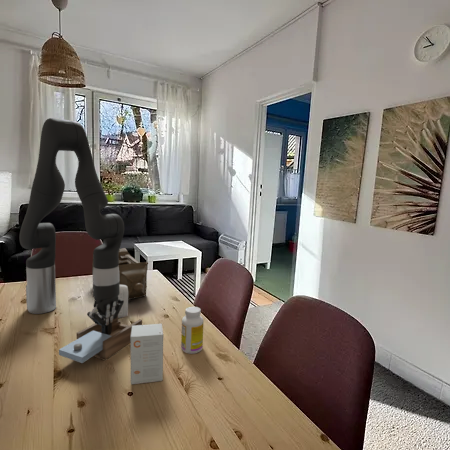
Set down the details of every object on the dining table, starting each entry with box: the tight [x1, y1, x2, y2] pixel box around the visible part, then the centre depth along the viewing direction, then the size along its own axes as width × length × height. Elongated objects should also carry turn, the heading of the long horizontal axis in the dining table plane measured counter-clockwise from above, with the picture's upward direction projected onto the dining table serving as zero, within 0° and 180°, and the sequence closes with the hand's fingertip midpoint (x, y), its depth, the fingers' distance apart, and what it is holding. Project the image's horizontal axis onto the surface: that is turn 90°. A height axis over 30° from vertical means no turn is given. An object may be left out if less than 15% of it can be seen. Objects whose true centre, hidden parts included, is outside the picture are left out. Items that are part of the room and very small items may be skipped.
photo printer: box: [115, 285, 129, 319], centre depth 113 cm, size 10×4×12 cm, turn 123°
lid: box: [58, 331, 111, 364], centre depth 87 cm, size 8×12×3 cm
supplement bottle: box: [180, 306, 204, 355], centre depth 94 cm, size 7×7×13 cm
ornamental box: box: [91, 247, 149, 301], centre depth 135 cm, size 35×18×18 cm, turn 40°
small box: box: [130, 323, 164, 385], centre depth 80 cm, size 8×6×13 cm
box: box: [76, 316, 143, 361], centre depth 96 cm, size 11×16×6 cm
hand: (106, 334), depth 94 cm, fingers closed
